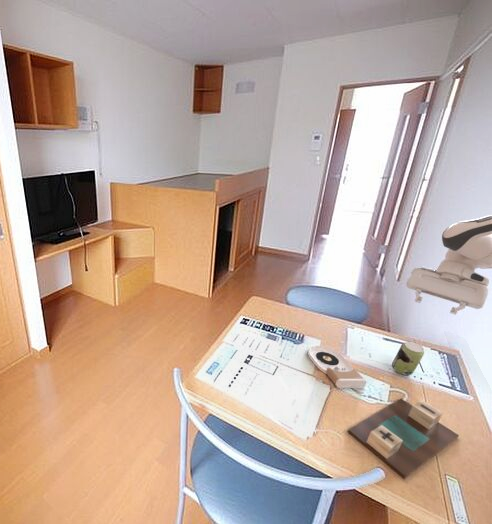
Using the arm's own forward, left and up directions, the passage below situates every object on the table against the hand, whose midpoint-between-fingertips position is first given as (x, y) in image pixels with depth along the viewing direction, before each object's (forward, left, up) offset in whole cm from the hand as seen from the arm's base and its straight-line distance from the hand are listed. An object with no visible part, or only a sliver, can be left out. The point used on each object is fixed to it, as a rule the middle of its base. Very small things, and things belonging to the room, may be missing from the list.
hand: (434, 307), depth 105 cm
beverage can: (-2, +12, -22) cm, 25 cm away
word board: (-16, +40, -22) cm, 49 cm away
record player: (+10, +32, -22) cm, 40 cm away
